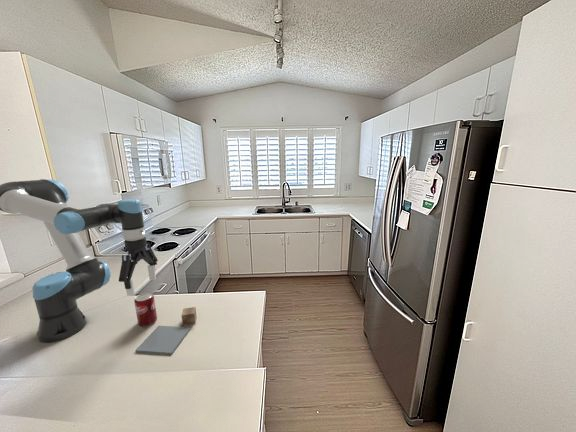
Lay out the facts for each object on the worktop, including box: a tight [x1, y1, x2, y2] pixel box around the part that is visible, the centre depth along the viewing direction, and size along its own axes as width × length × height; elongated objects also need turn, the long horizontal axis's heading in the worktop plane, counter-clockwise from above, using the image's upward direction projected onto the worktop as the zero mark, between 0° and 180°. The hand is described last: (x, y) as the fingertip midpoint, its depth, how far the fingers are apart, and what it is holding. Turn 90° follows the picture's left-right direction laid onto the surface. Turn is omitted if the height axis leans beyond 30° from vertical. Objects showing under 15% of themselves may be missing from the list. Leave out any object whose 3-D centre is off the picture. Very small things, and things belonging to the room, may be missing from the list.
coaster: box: [134, 325, 192, 356], centre depth 97 cm, size 14×14×1 cm
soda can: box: [133, 292, 158, 328], centre depth 107 cm, size 7×7×12 cm
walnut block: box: [181, 306, 197, 327], centre depth 108 cm, size 5×5×5 cm
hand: (142, 286), depth 105 cm, fingers open, 13 cm apart
